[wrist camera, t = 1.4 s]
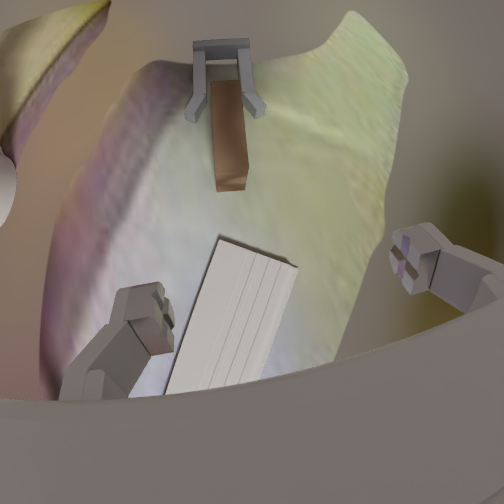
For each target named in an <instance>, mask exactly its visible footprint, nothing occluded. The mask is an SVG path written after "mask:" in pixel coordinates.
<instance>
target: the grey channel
mask: <svg viewBox="0 0 504 504" xmlns="http://www.w3.org/2000/svg"><path fill="white" fill-rule="evenodd" d="M249 46H250V43H249V38H245V39H219V40H203V41H193V97H192V98H191V100H190V101H189V103H188V104H187V106H186V108H185V109H184V114H185V118H186V120H189V121H192V122H195V123H196V122H197V120H198V118H199V116H200V115H201V113H202V111H203V110H204V108H205V106H206V103H207V91H206V60H220V59H237V64H238V74H239V80H240V84H241V94H242V103H243V105H244V106H245V107H246V108H247V110H248V111H249V112H250V113H251V115H252V116H253V117H254V118H255V119H256V118H258V117H260V116H262V115H264V113H265V109H266V104H265V103H264V102H263V101H262V100H261V98H260V97H259V96H258V95H257V94H256V92H255V88H254V80H253V72H252V65H251V58H250V50H249Z"/></svg>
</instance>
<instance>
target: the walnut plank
mask: <svg viewBox="0 0 504 504" xmlns="http://www.w3.org/2000/svg"><path fill="white" fill-rule="evenodd" d="M210 85H211V108H212V128H213V147H214V164H215V177H216V188H217V192H225V191H239V190H245V185H246V180H247V175H248V169H249V163H248V153H247V143H246V133H245V123H244V114H243V104H242V94H241V84H240V80H229V81H213V82H210Z"/></svg>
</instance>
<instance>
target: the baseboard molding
mask: <svg viewBox="0 0 504 504" xmlns="http://www.w3.org/2000/svg"><path fill="white" fill-rule="evenodd" d="M297 272H298V268H295V267H293V266H290V265H289V264H286V263H283V262H280V261H278V260H275V259H272V258H269V257H267V256H264V255H261V254H259V253H255V252H253V251H250V250H247V249H245V248H242V247H239V246H236V245H234V244H231V243H228V242H225V241H223V240H220V239H219V242H218V244H217V247H216V250H215V252H214V255H213V258H212V260H211V263H210V266H209V269H208V271H207V274H206V277H205V280H204V282H203V285H202V288H201V291H200V293H199V296H198V299H197V302H196V305H195V308H194V310H193V313H192V316H191V319H190V322H189V325H188V328H187V330H186V333H185V336H184V339H183V342H182V345H181V348H180V351H179V354H178V357H177V360H176V363H175V366H174V369H173V372H172V375H171V378H170V381H169V384H168V387H167V390H166V393H165V395H168V394H176V393H184V392H192V391H199V390H205V389H212V388H218V387H224V386H230V385H235V384H241V383H246V382H251V381H256V380H259V378H260V375H261V373H262V370H263V367H264V365H265V362H266V359H267V357H268V354H269V351H270V349H271V346H272V343H273V340H274V338H275V335H276V332H277V329H278V327H279V324H280V321H281V318H282V315H283V313H284V310H285V307H286V304H287V301H288V298H289V295H290V292H291V289H292V287H293V284H294V281H295V278H296V275H297Z"/></svg>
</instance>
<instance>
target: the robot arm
mask: <svg viewBox="0 0 504 504" xmlns="http://www.w3.org/2000/svg"><path fill="white" fill-rule="evenodd" d="M16 188H17V175H16V169H15V166H14V164H13V162H12V161H11V159H10V158H8V157H7V156H5V155H4V154H3V151H2V148H1V146H0V227H1V226H2V224H3V223H4V222H5V220H6V218H7V216H8V214H9V212H10V210H11V208H12V205H13V201H14V198H15V193H16ZM392 241H393V243H394V244H395V245H394V246H393V248H392V249H391V250H390V264H391V267H392V269H393V271H394V273H395V274H396V275H397V276H399V277H401V278H403V280H402V284H403V285H404V287H405V288H406V289H407V291H408V292H409V294H410V295H414V294H417V293H420V292H423V291H427V290H430V292H432V293H434V294H435V295H437V296H438V297H440V298H441V299H443V300H445V301H446V302H448V303H449V304H451V305H453V306H454V307H456V308H457V309H459V310H460V311H462V312H463V313H465V315H462V316H460V317H458V318H456V319H453V320H451V321H449V322H446V323H444V324H441V325H439V326H436V327H434V328H431V329H429V330H426V331H424V332H422V333H419V334H416V335H413V336H411V337H408V338H405V339H403V340H400V341H397V342H394V343H391V344H389V345H386V346H383V347H380V348H377V349H374V350H371V351H368V352H364V353H361V354H358V355H355V356H351V357H349V358H345V359H341V360H338V361H334V362H331V363H327V364H323V365H320V366H316V367H312V368H308V369H304V370H300V371H296V372H292V373H288V374H284V375H279V376H275V377H270V378H266V379H261V380H256V381H251V382H246V383H241V384H235V385H230V386H224V387H218V388H212V389H205V390H199V391H192V392H184V393H176V394H168V395H159V396H149V397H138V398H128V395H129V394H130V392H131V390H132V388H133V387H134V385H135V383H136V382H137V380H138V378H139V377H140V375H141V373H142V371H143V370H144V368H145V366H146V365H147V363H148V361H149V360H150V358H151V357H150V356H154V355H160V354H165V353H171V352H174V335H173V333H172V331H171V330H172V329H173V327H174V326H175V319H174V312H173V308H172V305H171V303H170V301H169V299H167V298H165V297H164V293H165V290H164V288H163V286H162V284H161V283H160V282H153V283H148V284H142V285H137V286H132V287H127V288H122V289H119V290H118V291H117V293H116V297H115V301H114V305H113V309H112V313H111V317H110V322H109V324H106V325H105V326H104V327H103V328H102V329H101V330H100V331H99V332H98V333H97V334H96V336H95V337H94V338H93V339H92V340H91V341H90V342H89V344H88V345H87V346H86V347H85V348H84V349H83V350H82V352H81V353H80V354H79V355H78V356H77V357H76V358H75V360H74V361H73V362H72V363H71V364H70V365H69V367H68V368H67V369H66V370H65V372H64V376H63V381H62V385H61V390H60V394H59V399H58V401H48V400H19V399H5V398H0V504H504V265H503V264H501V263H499V262H496V261H494V260H492V259H490V258H487V257H485V256H483V255H480V254H478V253H475V252H473V251H470V250H468V249H466V248H463V247H461V246H458V245H455V246H454V245H453V244H452V243H451V242H450V241H449V240H448V239H447V238H446V237H445V236H444V235H443V234H442V233H441V232H440V231H439V230H438V229H437V228H436V227H435V226H434V225H433V224H432V223H429V222H426V223H422V224H418V225H416V226H412V227H407V228H403V229H399V230H395V231H394V233H393V235H392Z"/></svg>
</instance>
